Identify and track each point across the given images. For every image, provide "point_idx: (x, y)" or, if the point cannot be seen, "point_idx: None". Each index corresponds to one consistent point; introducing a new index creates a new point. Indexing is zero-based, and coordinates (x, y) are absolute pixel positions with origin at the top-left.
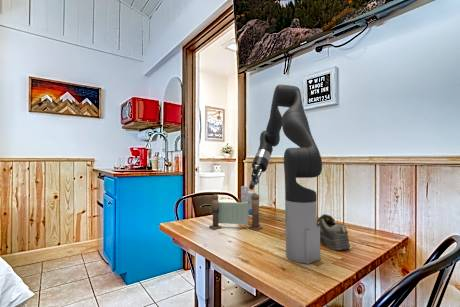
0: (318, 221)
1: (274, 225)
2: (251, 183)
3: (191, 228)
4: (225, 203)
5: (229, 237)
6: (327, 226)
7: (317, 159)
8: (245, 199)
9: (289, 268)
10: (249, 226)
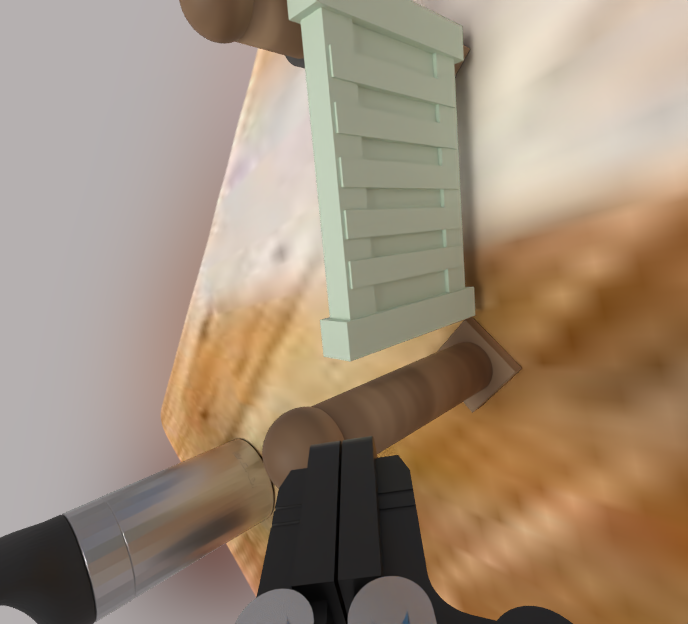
0: None
1: (601, 522)
2: (280, 525)
3: None
4: (313, 116)
5: (312, 237)
6: None
7: None
8: None
9: (208, 428)
10: (466, 322)
